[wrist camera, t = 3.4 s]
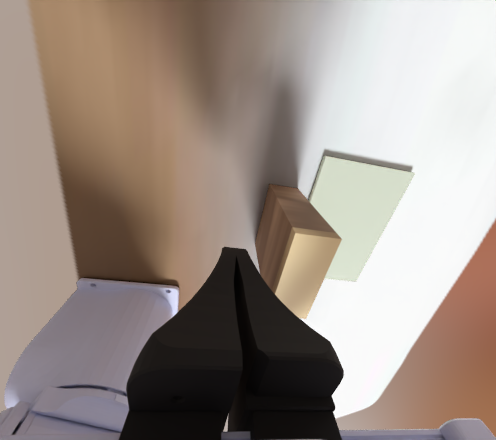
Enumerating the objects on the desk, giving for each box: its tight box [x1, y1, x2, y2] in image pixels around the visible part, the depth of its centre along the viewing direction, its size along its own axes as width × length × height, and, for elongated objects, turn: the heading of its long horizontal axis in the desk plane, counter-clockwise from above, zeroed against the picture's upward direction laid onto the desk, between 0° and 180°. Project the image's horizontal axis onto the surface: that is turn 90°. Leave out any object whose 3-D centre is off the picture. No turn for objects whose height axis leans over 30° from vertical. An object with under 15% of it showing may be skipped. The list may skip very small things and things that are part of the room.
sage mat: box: [309, 155, 415, 282], centre depth 20 cm, size 8×12×1 cm, turn 169°
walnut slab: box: [255, 184, 342, 319], centre depth 15 cm, size 2×6×8 cm, turn 169°
